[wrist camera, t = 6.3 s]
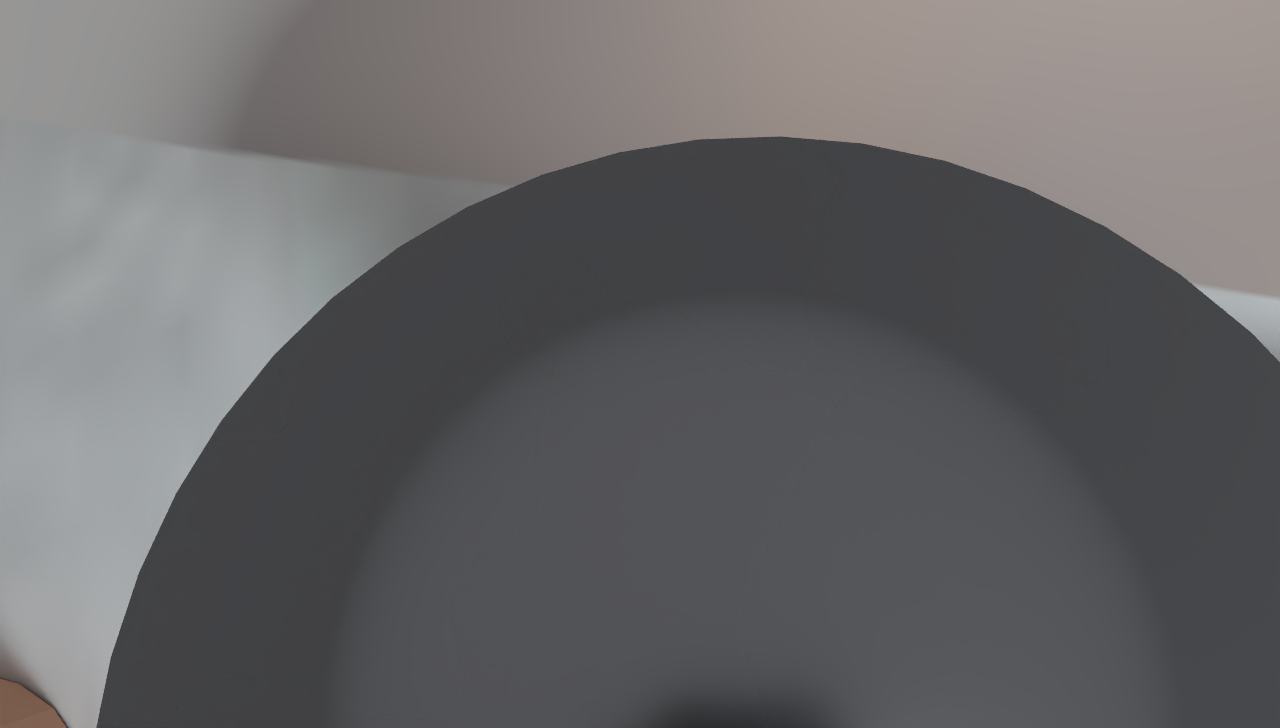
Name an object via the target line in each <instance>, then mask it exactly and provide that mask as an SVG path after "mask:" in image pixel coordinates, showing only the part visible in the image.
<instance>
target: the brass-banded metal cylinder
mask: <svg viewBox="0 0 1280 728" xmlns="http://www.w3.org/2000/svg"><path fill="white" fill-rule="evenodd" d="M97 728H1280V362H1279V361H1278V360H1277V359H1276V358H1275V357H1274V356H1273V355H1272V354H1271V353H1270V352H1269V351H1268V350H1267V349H1266V348H1265V347H1264V346H1263V344H1262V343H1261V342H1260V341H1259V340H1258V339H1257V338H1256V337H1255V336H1254V335H1253V334H1252V333H1251V332H1250V331H1248V330H1247V329H1246V328H1245V327H1244V326H1242V325H1241V324H1240V323H1239V322H1237V321H1236V320H1235V319H1234V318H1233V317H1231V316H1230V315H1229V314H1228V313H1226V312H1225V311H1224V310H1223V309H1222V308H1220V307H1219V306H1218V305H1217V304H1215V303H1214V302H1213V301H1212V300H1211V299H1209V298H1208V297H1207V296H1206V295H1204V294H1203V293H1202V292H1201V291H1200V290H1198V289H1197V288H1196V287H1195V286H1193V285H1192V284H1191V283H1190V282H1188V281H1187V280H1186V279H1185V278H1184V277H1182V276H1181V275H1180V274H1178V273H1177V272H1175V271H1174V270H1172V269H1171V268H1169V267H1167V266H1166V265H1164V264H1163V263H1161V262H1160V261H1158V260H1156V259H1155V258H1153V257H1151V256H1150V255H1148V254H1147V253H1145V252H1144V251H1142V250H1141V249H1139V248H1138V247H1136V246H1134V245H1133V244H1131V243H1130V242H1128V241H1127V240H1125V239H1124V238H1122V237H1120V236H1119V235H1117V234H1116V233H1114V232H1112V231H1111V230H1109V229H1108V228H1106V227H1104V226H1103V225H1101V224H1098V223H1096V222H1094V221H1092V220H1090V219H1088V218H1086V217H1084V216H1082V215H1080V214H1078V213H1075V212H1073V211H1071V210H1069V209H1067V208H1065V207H1063V206H1061V205H1059V204H1057V203H1055V202H1053V201H1051V200H1049V199H1046V198H1044V197H1042V196H1040V195H1038V194H1036V193H1034V192H1032V191H1030V190H1028V189H1026V188H1023V187H1020V186H1016V185H1014V184H1011V183H1008V182H1005V181H1002V180H999V179H996V178H993V177H990V176H987V175H985V174H982V173H979V172H976V171H973V170H970V169H967V168H964V167H961V166H958V165H955V164H952V163H949V162H946V161H942V160H937V159H933V158H928V157H924V156H919V155H914V154H909V153H905V152H900V151H895V150H890V149H885V148H880V147H876V146H871V145H866V144H861V143H848V142H836V141H825V140H814V139H802V138H790V137H757V138H730V139H705V140H704V139H703V140H694V141H688V142H681V143H676V144H669V145H663V146H657V147H651V148H645V149H638V150H632V151H626V152H619V153H616V154H612V155H609V156H606V157H602V158H599V159H595V160H592V161H588V162H585V163H582V164H578V165H575V166H571V167H568V168H565V169H561V170H558V171H554V172H551V173H547V174H544V175H541V176H539V177H536V178H534V179H531V180H529V181H527V182H525V183H522V184H520V185H518V186H515V187H513V188H511V189H508V190H506V191H504V192H501V193H499V194H497V195H494V196H492V197H490V198H487V199H485V200H483V201H481V202H478V203H476V204H474V205H471V206H469V207H467V208H465V209H463V210H462V211H460V212H458V213H457V214H455V215H453V216H452V217H450V218H448V219H446V220H445V221H443V222H441V223H440V224H438V225H436V226H434V227H433V228H431V229H429V230H428V231H426V232H424V233H423V234H421V235H419V236H417V237H416V238H414V239H412V240H411V241H409V242H407V243H405V244H404V245H402V246H400V247H399V248H397V249H396V250H395V251H393V252H392V253H391V254H389V255H388V256H387V257H385V258H384V259H383V260H381V261H380V262H379V263H378V264H376V265H375V266H374V267H372V268H371V269H370V270H368V271H367V272H366V273H364V274H363V275H362V276H361V277H359V278H358V279H357V280H355V281H354V282H353V283H351V284H350V285H349V286H347V287H346V288H345V289H344V290H342V291H341V292H340V293H338V294H337V295H336V296H334V297H333V298H332V299H331V300H330V301H329V302H328V303H327V304H326V305H325V306H324V307H323V308H322V309H321V310H320V311H319V312H318V313H317V314H316V315H315V316H314V317H313V318H312V319H311V320H310V321H309V322H308V323H306V324H305V325H304V326H303V327H302V328H301V329H300V330H299V331H298V332H297V333H296V334H295V335H294V336H293V337H292V338H291V339H290V340H289V341H288V342H287V343H286V344H285V345H284V346H283V347H282V348H281V349H280V350H279V351H278V352H277V353H276V354H275V355H274V356H273V357H272V358H271V360H270V361H269V362H268V363H267V365H266V366H265V367H264V368H263V370H262V371H261V372H260V373H259V375H258V376H257V377H256V378H255V380H254V381H253V382H252V383H251V385H250V386H249V387H248V388H247V390H246V391H245V392H244V393H243V395H242V396H241V397H240V398H239V400H238V401H237V402H236V403H235V405H234V406H233V407H232V408H231V410H230V411H229V412H228V413H227V415H226V416H225V417H224V418H223V420H222V421H221V422H220V424H219V426H218V427H217V429H216V430H215V432H214V434H213V435H212V437H211V438H210V440H209V442H208V443H207V445H206V446H205V448H204V450H203V451H202V453H201V454H200V456H199V458H198V459H197V461H196V463H195V464H194V466H193V467H192V469H191V471H190V472H189V474H188V475H187V477H186V479H185V480H184V482H183V483H182V485H181V487H180V488H179V490H178V492H177V493H176V495H175V497H174V499H173V501H172V504H171V506H170V508H169V510H168V512H167V514H166V516H165V519H164V521H163V523H162V525H161V527H160V529H159V531H158V534H157V536H156V538H155V540H154V542H153V544H152V546H151V548H150V551H149V553H148V555H147V557H146V559H145V561H144V563H143V566H142V568H141V570H140V572H139V575H138V578H137V581H136V584H135V587H134V590H133V593H132V596H131V599H130V602H129V605H128V608H127V611H126V614H125V617H124V620H123V623H122V626H121V629H120V632H119V635H118V638H117V641H116V644H115V647H114V650H113V653H112V656H111V660H110V665H109V670H108V674H107V679H106V684H105V689H104V694H103V699H102V704H101V708H100V713H99V718H98V723H97Z"/></svg>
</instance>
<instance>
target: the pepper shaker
mask: <svg viewBox="0 0 1280 728" xmlns="http://www.w3.org/2000/svg"><path fill="white" fill-rule="evenodd" d="M0 728H67V727H66V726H65V725H64V723H63V722H62V720H61V719H60V717H59V716H58V714H57V713H56V711H55V710H54V708H52V707H51V706H49V705H48V704H47V703H45V702H44V701H43V700H41V699H40V698H38V697H37V696H36V695H34V694H33V693H31V692H30V691H29V690H27V689H26V688H24V687H23V686H22V685H20V684H19V683H15V682H11V681H8V680H4V679H0Z"/></svg>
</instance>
